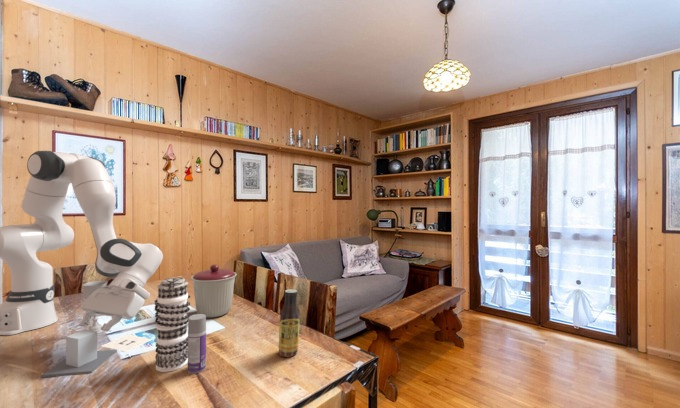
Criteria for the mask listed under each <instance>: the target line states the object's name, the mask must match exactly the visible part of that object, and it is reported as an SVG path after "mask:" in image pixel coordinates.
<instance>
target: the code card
mask: <svg viewBox="0 0 680 408" xmlns="http://www.w3.org/2000/svg"><path fill="white" fill-rule="evenodd" d="M150 341H153V339H152V338H147V337H143V336H136V335H132V334H126V335H123V336H121V337H118V338H116V339H113V340H111V341H109V342H107V343H105V344H102V345H101V347H102V348H106V349H110V350H117V351H121V352H125V353H128V352H130V351H132V350H133V349H136V348H139V347H140V346H142V345H144V344H146V343H148V342H150Z"/></svg>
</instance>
